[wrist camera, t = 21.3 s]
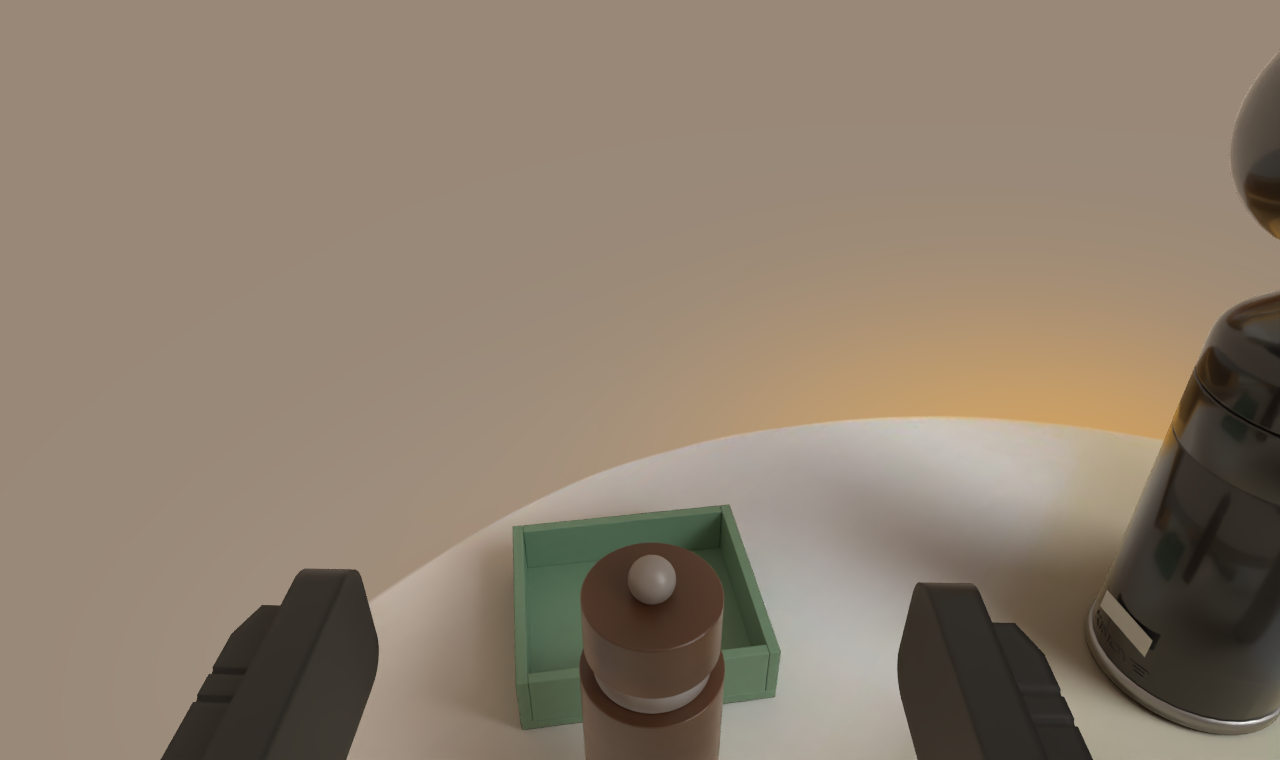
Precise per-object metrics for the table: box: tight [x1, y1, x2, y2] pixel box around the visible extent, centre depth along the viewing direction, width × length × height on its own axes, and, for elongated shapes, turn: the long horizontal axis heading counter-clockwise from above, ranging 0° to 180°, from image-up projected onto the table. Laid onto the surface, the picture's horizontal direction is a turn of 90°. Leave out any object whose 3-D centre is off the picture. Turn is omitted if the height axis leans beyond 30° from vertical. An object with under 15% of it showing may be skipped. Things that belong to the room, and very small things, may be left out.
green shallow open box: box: [513, 505, 781, 730], centre depth 46 cm, size 13×11×4 cm
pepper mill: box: [579, 542, 725, 760], centre depth 32 cm, size 5×5×18 cm
